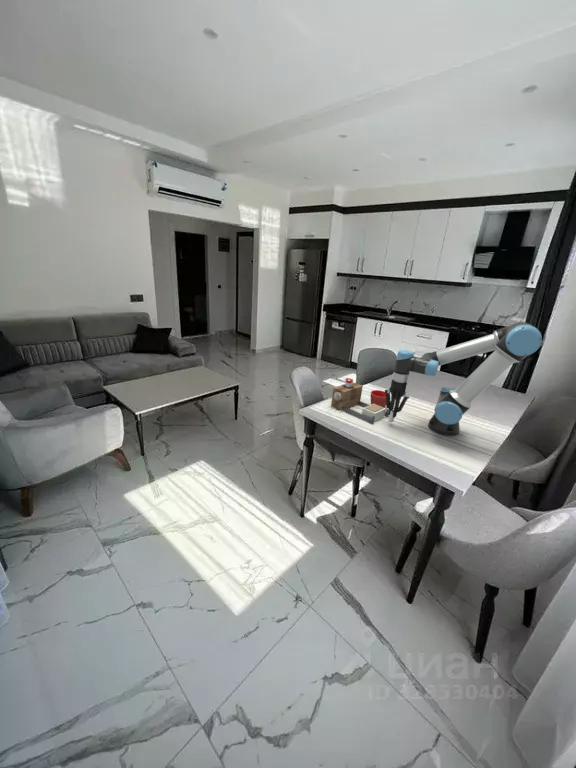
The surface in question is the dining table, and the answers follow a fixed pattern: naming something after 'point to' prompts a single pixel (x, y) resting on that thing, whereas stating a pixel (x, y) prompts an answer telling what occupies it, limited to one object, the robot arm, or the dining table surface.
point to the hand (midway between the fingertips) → (390, 421)
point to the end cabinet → (346, 396)
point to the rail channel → (361, 416)
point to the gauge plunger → (348, 383)
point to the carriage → (374, 411)
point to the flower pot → (378, 398)
